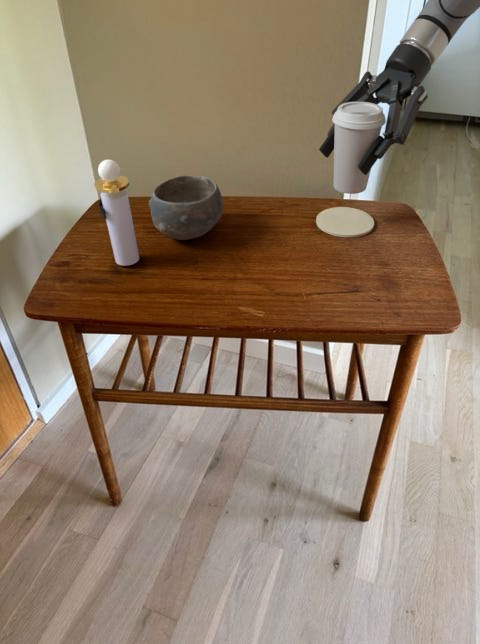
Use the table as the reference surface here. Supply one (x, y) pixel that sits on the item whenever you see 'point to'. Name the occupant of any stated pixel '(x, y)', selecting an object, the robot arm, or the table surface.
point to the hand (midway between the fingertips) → (341, 162)
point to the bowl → (186, 206)
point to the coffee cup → (354, 143)
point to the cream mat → (345, 222)
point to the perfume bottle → (117, 212)
